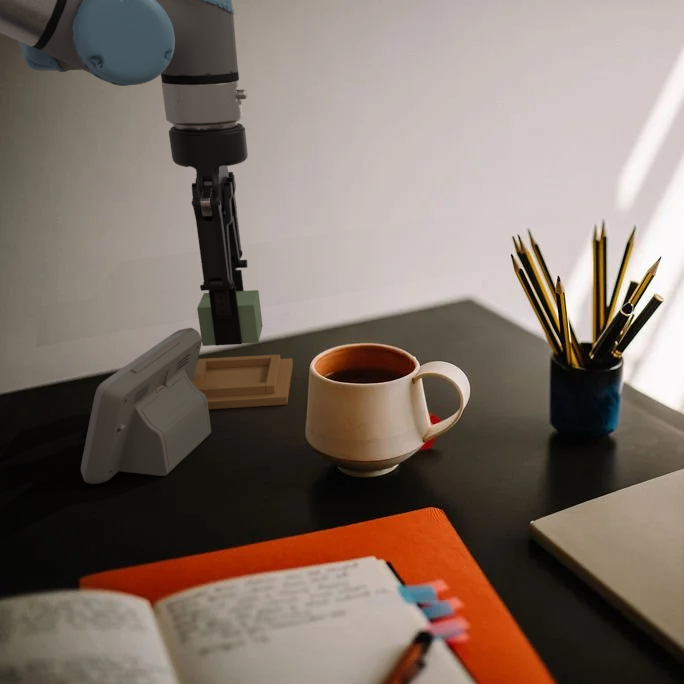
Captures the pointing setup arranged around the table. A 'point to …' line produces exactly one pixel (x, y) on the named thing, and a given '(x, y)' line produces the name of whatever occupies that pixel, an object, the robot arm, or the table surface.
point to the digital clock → (148, 413)
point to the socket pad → (244, 381)
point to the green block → (247, 317)
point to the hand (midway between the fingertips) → (232, 333)
